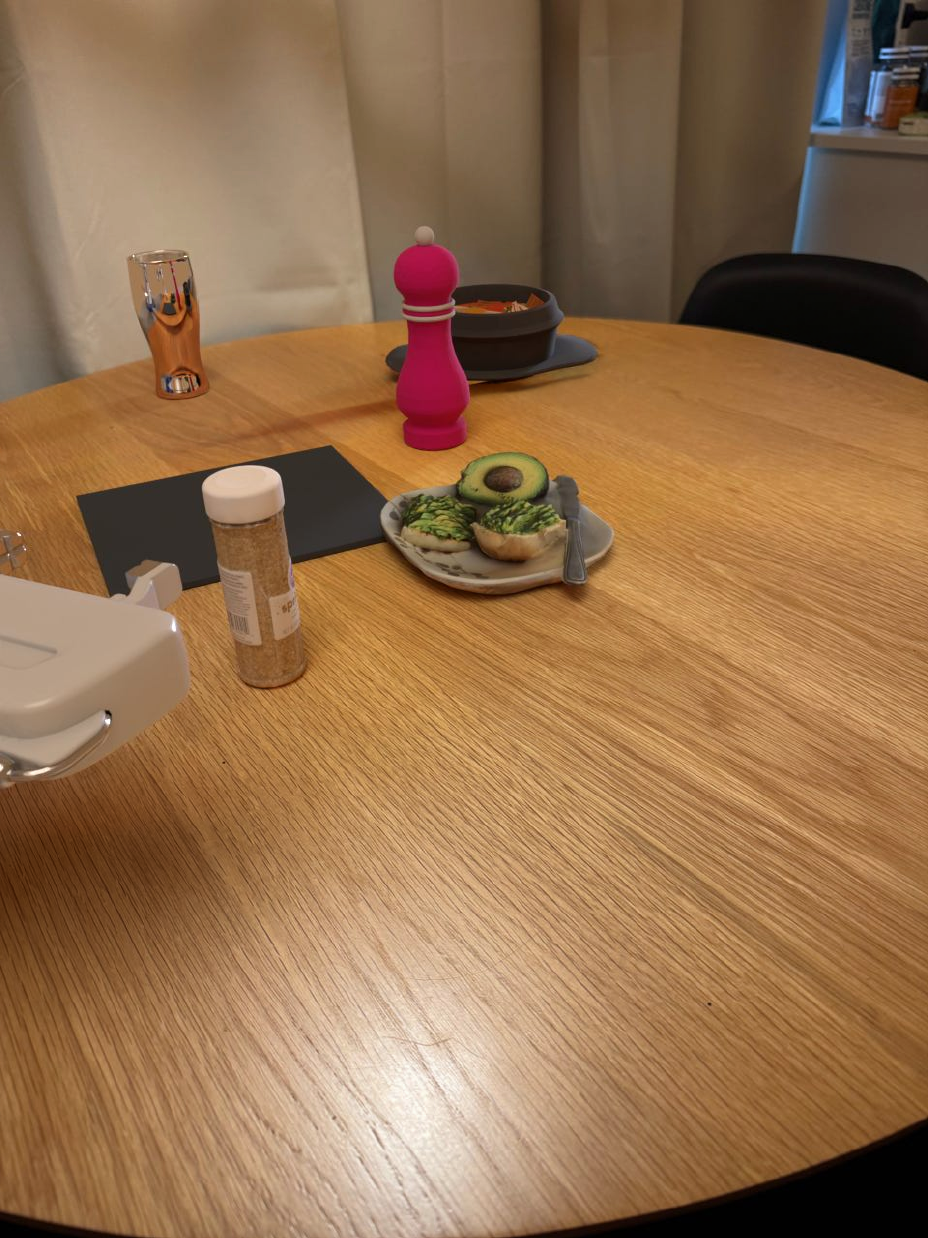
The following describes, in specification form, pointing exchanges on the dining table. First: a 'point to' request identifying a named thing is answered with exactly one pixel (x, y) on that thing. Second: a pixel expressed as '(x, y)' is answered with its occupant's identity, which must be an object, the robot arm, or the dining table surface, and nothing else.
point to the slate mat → (182, 534)
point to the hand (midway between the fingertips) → (88, 558)
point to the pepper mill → (430, 347)
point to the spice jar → (256, 573)
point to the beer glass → (169, 320)
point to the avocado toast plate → (498, 528)
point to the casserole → (507, 334)
